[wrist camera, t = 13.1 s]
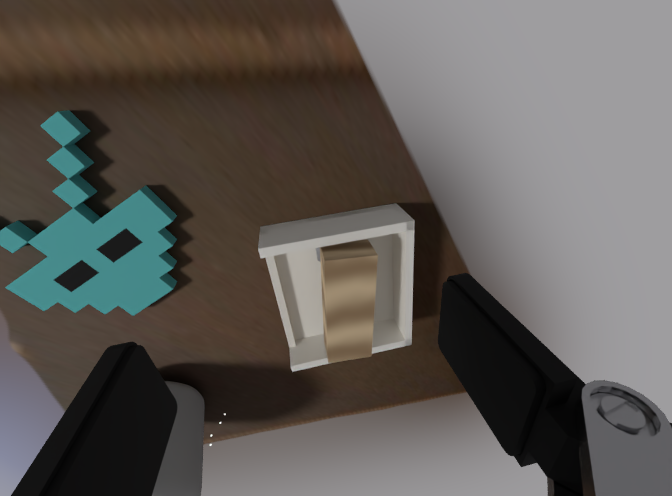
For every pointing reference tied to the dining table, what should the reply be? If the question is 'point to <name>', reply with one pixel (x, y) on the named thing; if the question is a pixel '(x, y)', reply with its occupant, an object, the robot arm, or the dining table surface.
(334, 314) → the shelf board
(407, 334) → the carcass
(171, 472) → the jar
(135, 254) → the alien figure
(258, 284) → the dining table surface
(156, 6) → the dining table surface
